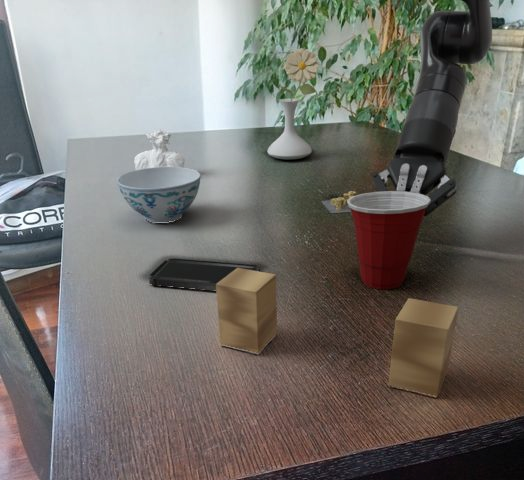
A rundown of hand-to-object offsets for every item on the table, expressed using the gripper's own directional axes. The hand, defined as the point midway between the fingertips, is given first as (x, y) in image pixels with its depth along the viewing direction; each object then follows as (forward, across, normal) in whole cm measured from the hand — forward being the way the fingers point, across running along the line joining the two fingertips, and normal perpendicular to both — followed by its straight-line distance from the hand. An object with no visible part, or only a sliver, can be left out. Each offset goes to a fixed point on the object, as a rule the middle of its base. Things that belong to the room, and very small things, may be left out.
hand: (397, 237), depth 82 cm
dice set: (-15, -17, +22) cm, 32 cm away
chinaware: (0, -46, +8) cm, 47 cm away
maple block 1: (+23, -10, -16) cm, 30 cm away
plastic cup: (+7, 0, 0) cm, 7 cm away
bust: (-18, -64, +26) cm, 71 cm away
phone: (+14, -24, -7) cm, 28 cm away
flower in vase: (-38, -43, +46) cm, 74 cm away
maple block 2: (+23, +10, -16) cm, 30 cm away
